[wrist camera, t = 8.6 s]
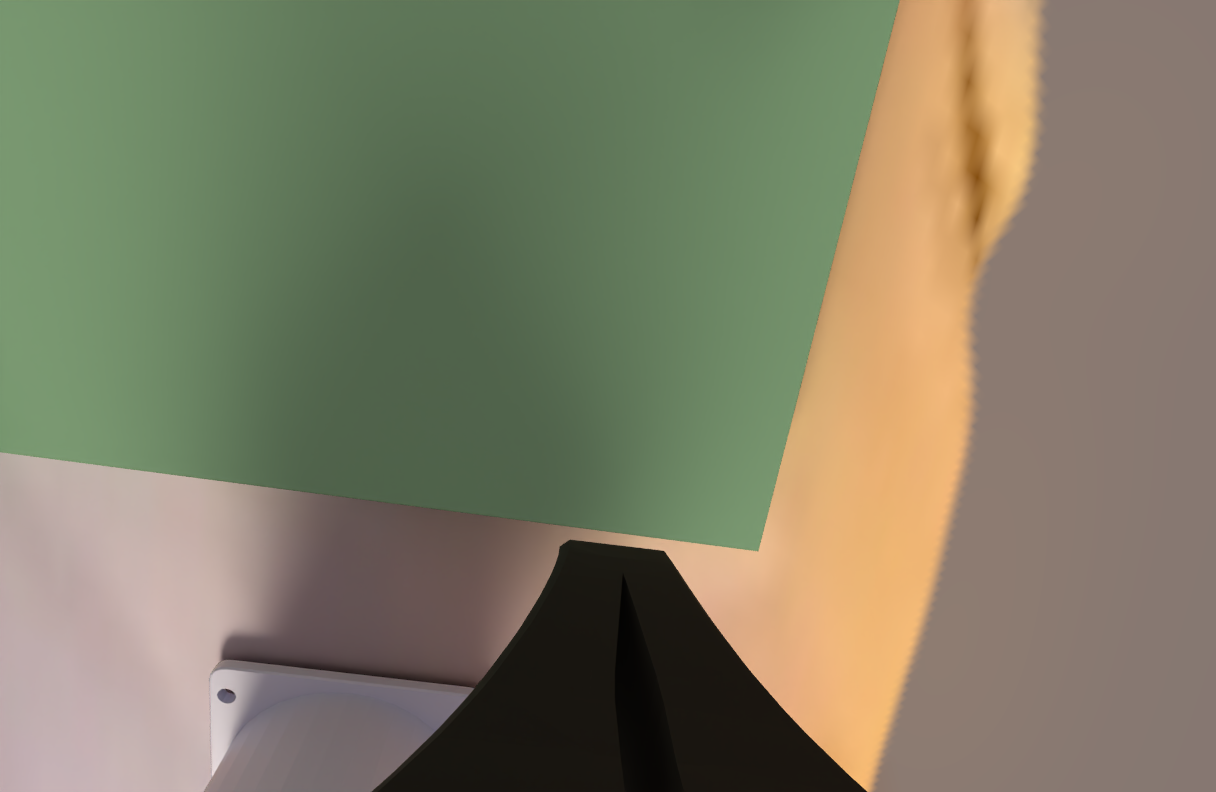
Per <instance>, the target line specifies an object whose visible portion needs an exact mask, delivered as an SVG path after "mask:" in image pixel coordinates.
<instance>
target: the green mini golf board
mask: <svg viewBox="0 0 1216 792" xmlns="http://www.w3.org/2000/svg"><path fill="white" fill-rule="evenodd" d="M898 4H899V0H0V452H3V453H10V454H18V455H26V456H33V457H41V458H49V459H56V460H64V461H72V462H79V463H87V464H95V465H102V466H110V467H117V468H125V469H133V470H140V471H148V472H156V473H163V474H171V475H179V476H186V477H194V478H202V479H209V480H217V481H225V482H232V483H240V484H248V485H255V486H263V487H271V488H278V489H286V490H293V491H301V492H309V493H316V494H324V495H332V496H339V497H347V498H355V499H362V500H370V501H378V502H385V503H393V504H401V505H408V506H416V507H424V508H431V509H439V510H447V511H454V512H462V513H469V514H477V515H485V516H492V517H500V518H508V519H515V520H523V521H531V522H538V523H546V524H554V525H561V526H569V527H577V528H584V529H592V530H600V531H607V532H615V533H623V534H630V535H638V536H645V537H653V538H661V539H668V540H676V541H684V542H691V543H699V544H707V545H714V546H722V547H730V548H737V549H745V550H753V551H758V550H759V546H760V542H761V538H762V535H763V531H764V527H765V523H766V519H767V515H768V511H769V507H770V503H771V499H772V496H773V492H774V488H775V484H776V480H777V476H778V472H779V468H780V464H781V461H782V457H783V453H784V449H785V445H786V441H787V437H788V433H789V429H790V425H791V422H792V418H793V414H794V410H795V406H796V402H797V398H798V394H799V390H800V386H801V383H802V379H803V375H804V371H805V367H806V363H807V359H808V355H809V351H810V347H811V344H812V340H813V336H814V332H815V328H816V324H817V320H818V316H819V312H820V308H821V305H822V301H823V297H824V293H825V289H826V285H827V281H828V277H829V273H830V269H831V266H832V262H833V258H834V254H835V250H836V246H837V242H838V238H839V234H840V230H841V227H842V223H843V219H844V215H845V211H846V207H847V203H848V199H849V195H850V192H851V188H852V184H853V180H854V176H855V172H856V168H857V164H858V160H859V156H860V153H861V149H862V145H863V141H864V137H865V133H866V129H867V125H868V121H869V117H870V114H871V110H872V106H873V102H874V98H875V94H876V90H877V86H878V82H879V78H880V75H881V71H882V67H883V63H884V59H885V55H886V51H887V47H888V43H889V39H890V36H891V32H892V28H893V24H894V20H895V16H896V12H897V8H898Z"/></svg>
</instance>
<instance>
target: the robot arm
mask: <svg viewBox="0 0 1216 792" xmlns="http://www.w3.org/2000/svg"><path fill="white" fill-rule="evenodd" d="M225 689H229V690H232V691H233V692H234V693H235V694H231V693H228V692H227V691H226V690H225ZM209 691H210V742H211V780H210V782H209V784H208V785H207V787H206V789H205V790H204V792H867V791H866V790H865V789H864V788H862V787H861V786H860V785H859V784H858V783H857V782H856V781H855V780H854V779H852V778H851V777H850V776H849V775H848V774H847V773H846V772H845V771H844V770H843V769H842V768H841V767H840V766H839V765H838V764H837V763H836V762H835V761H834V760H833V759H832V758H831V757H830V756H829V755H828V754H827V753H826V752H825V751H824V750H823V749H822V748H820V747H819V746H818V745H817V744H816V743H815V742H814V741H813V740H812V739H811V738H810V737H809V736H808V735H807V734H806V733H805V732H804V731H803V730H802V729H801V728H800V727H799V726H798V724H797V723H796V722H795V721H794V720H793V719H792V718H791V717H790V716H789V715H788V714H787V713H786V712H785V711H784V710H783V708H782V707H781V706H780V705H779V704H778V703H777V702H776V700H775V699H774V698H773V697H772V696H771V695H770V693H769V692H768V691H767V690H766V689H765V688H764V687H763V685H762V684H761V683H760V682H759V681H758V680H757V678H756V677H755V676H754V675H753V674H752V673H751V671H750V670H749V669H748V668H747V666H746V665H745V664H744V663H743V661H742V660H741V659H740V657H739V656H738V655H737V654H736V652H735V651H734V650H733V648H732V647H731V646H730V644H729V643H728V642H727V640H726V639H725V638H724V636H723V635H722V634H721V632H720V631H719V630H718V628H717V627H716V626H715V624H714V623H713V621H712V620H711V619H710V617H709V616H708V614H707V613H706V612H705V610H704V609H703V607H702V606H701V604H700V603H699V601H698V600H697V599H696V597H695V596H694V594H693V593H692V591H691V590H690V588H689V587H688V585H687V584H686V582H685V581H684V579H683V578H682V576H681V575H680V573H679V572H678V570H677V569H676V567H675V566H674V564H673V563H672V561H671V560H670V559H669V557H668V556H667V554H666V553H665V552H664V551H660V550H651V549H643V548H635V547H626V546H618V545H610V544H601V543H593V542H584V541H576V540H569V541H567V542H566V543H564V544H563V545H561V546H560V549H559V555H558V558H557V561H556V564H555V567H554V569H553V571H552V574H551V576H550V578H549V580H548V582H547V584H546V586H545V588H544V589H543V591H542V593H541V595H540V597H539V598H538V600H537V602H536V603H535V605H534V607H533V608H532V610H531V611H530V613H529V615H528V616H527V618H526V619H525V621H524V623H523V624H522V626H521V628H520V629H519V630H518V632H517V633H516V635H515V636H514V638H513V639H512V640H511V642H510V643H509V644H508V646H507V647H506V648H505V650H504V651H503V652H502V654H501V655H500V656H499V658H498V659H497V660H496V662H495V663H494V664H493V666H492V667H491V668H490V670H489V671H488V672H487V674H486V675H485V676H484V677H483V679H482V680H481V681H480V682H479V684H478V685H477V686H476V687H475V688H472V687H463V686H455V685H446V684H437V683H429V682H420V681H411V680H403V679H394V678H385V677H377V676H368V675H359V674H350V673H342V672H333V671H324V670H316V669H307V668H298V667H290V666H281V665H272V664H264V663H255V662H246V661H238V660H224V661H222V662H219V663H218V664H217V665H216V666H215V668H214V669H213V671H212V672H211V674H210V678H209Z"/></svg>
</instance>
